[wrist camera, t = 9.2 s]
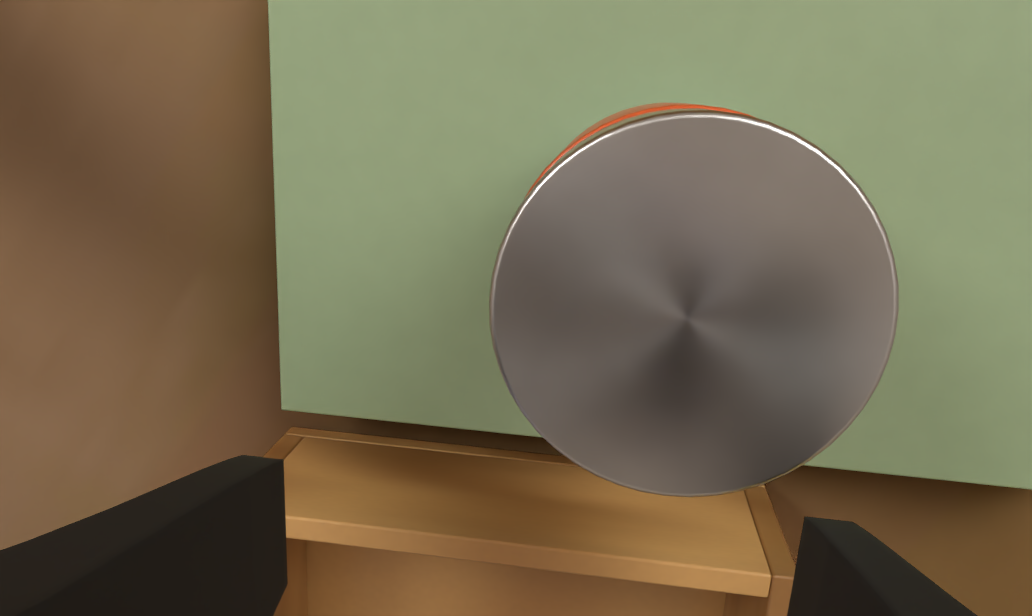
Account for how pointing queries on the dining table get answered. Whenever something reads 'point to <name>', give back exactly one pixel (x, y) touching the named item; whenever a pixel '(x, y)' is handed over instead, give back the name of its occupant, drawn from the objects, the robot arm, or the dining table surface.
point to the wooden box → (511, 537)
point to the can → (693, 300)
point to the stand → (605, 91)
